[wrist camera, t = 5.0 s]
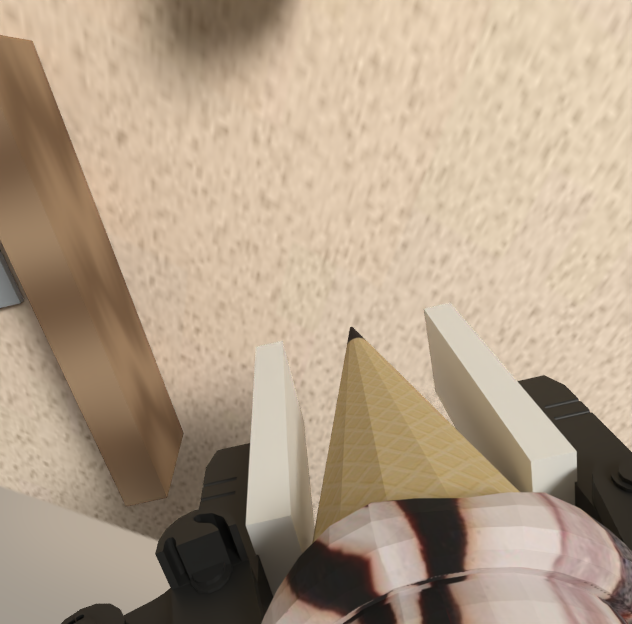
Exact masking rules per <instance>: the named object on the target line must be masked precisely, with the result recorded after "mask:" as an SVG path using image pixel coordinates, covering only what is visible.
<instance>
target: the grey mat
mask: <svg viewBox="0 0 632 624" xmlns="http://www.w3.org/2000/svg"><path fill="white" fill-rule="evenodd" d="M22 301H24V299H23V297H22V295H21V293H20V291H19V288H18V286H17V284H16V282H15V280H14V278H13V276H12V274H11V272H10V270H9V267H8V265H7V263H6V261H5V259H4V257H3V255H2V253H1V251H0V308H2V307H6V306H11V305H15V304H19V303H21V302H22Z"/></svg>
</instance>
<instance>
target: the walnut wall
mask: <svg viewBox="0 0 632 624" xmlns="http://www.w3.org/2000/svg"><path fill="white" fill-rule="evenodd" d="M0 241H1V243H2V245H3V247H4V249H5V251H6V253H7V255H8V257H9V260H10V262H11V264H12V266H13V268H14V270H15V272H16V274H17V277H18V279H19V281H20V283H21V285H22V287H23V289H24V291H25V293H26V296H27V298H28V300H29V302H30V304H31V306H32V308H33V310H34V313H35V315H36V317H37V319H38V321H39V323H40V325H41V327H42V329H43V332H44V334H45V336H46V338H47V340H48V342H49V344H50V346H51V349H52V351H53V353H54V355H55V357H56V359H57V361H58V363H59V365H60V368H61V370H62V372H63V374H64V376H65V378H66V380H67V382H68V385H69V387H70V389H71V391H72V393H73V395H74V397H75V399H76V401H77V404H78V406H79V408H80V410H81V412H82V414H83V416H84V418H85V421H86V423H87V425H88V427H89V429H90V431H91V433H92V435H93V438H94V440H95V442H96V444H97V446H98V448H99V450H100V452H101V454H102V457H103V459H104V461H105V463H106V465H107V467H108V469H109V471H110V474H111V476H112V478H113V480H114V482H115V484H116V486H117V488H118V490H119V493H120V495H121V497H122V499H123V501H124V503H125V505H126V506H131V505H136V504H140V503H145V502H149V501H154V500H158V499H163V498H167V496H168V492H169V488H170V484H171V480H172V476H173V473H174V469H175V465H176V461H177V457H178V453H179V449H180V445H181V441H182V437H183V431H182V429H181V426H180V423H179V421H178V418H177V416H176V413H175V410H174V408H173V405H172V403H171V400H170V397H169V395H168V392H167V390H166V387H165V384H164V382H163V379H162V377H161V374H160V371H159V369H158V366H157V364H156V361H155V358H154V356H153V353H152V351H151V348H150V345H149V343H148V340H147V338H146V335H145V332H144V330H143V327H142V325H141V322H140V319H139V317H138V314H137V312H136V309H135V306H134V304H133V301H132V299H131V296H130V293H129V291H128V288H127V286H126V283H125V280H124V278H123V275H122V273H121V270H120V267H119V265H118V262H117V260H116V257H115V254H114V252H113V249H112V247H111V244H110V241H109V239H108V236H107V234H106V231H105V228H104V226H103V223H102V221H101V218H100V215H99V213H98V210H97V208H96V205H95V202H94V200H93V197H92V195H91V192H90V189H89V187H88V184H87V182H86V179H85V176H84V174H83V171H82V169H81V166H80V163H79V161H78V158H77V156H76V153H75V150H74V148H73V145H72V143H71V140H70V137H69V135H68V132H67V130H66V127H65V124H64V122H63V119H62V117H61V114H60V111H59V109H58V106H57V104H56V101H55V98H54V96H53V93H52V91H51V88H50V85H49V83H48V80H47V78H46V75H45V72H44V70H43V67H42V65H41V62H40V59H39V57H38V54H37V52H36V49H35V46H34V44H33V41H31V40H25V39H19V38H14V37H8V36H3V35H0Z"/></svg>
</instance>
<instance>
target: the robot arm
mask: <svg viewBox="0 0 632 624" xmlns="http://www.w3.org/2000/svg"><path fill="white" fill-rule="evenodd" d="M424 314H425V321H426V328H427V335H428V342H429V349H430V356H431V363H432V370H433V378H434V385H435V391H436V393H437V395H438V397H439V399H440V400H441V402H442V404H443V406H444V408H445V410H446V411H447V413H448V415H449V417H450V419H451V420H452V422H453V424H454V426H455V428H456V429H457V430H458V431H459V432H460V433H461V434H462V435H463V436H464V437H465V438H466V439H467V440H468V441H469V442H470V443H471V444H472V445H473V446H474V447H475V448H476V449H477V450H478V451H479V452H480V453H481V454H482V455H483V456H484V457H485V458H486V459H487V460H488V461H489V462H490V463H491V464H492V465H493V466H494V467H495V468H496V469H497V470H498V471H499V472H500V473H501V474H502V475H503V476H504V477H505V478H506V479H507V480H508V481H509V482H510V483H511V484H512V485H513V486H514V487H515V488H516V489H517V490H518V491H519V492H545V493H547V494H549V495H551V496H554V497H556V498H558V499H560V500H563V501H565V502H567V503H569V504H571V505H574V506H576V507H578V508H580V509H582V510H583V511H584V512H586V513H587V514H588V515H590V516H591V517H592V518H594V519H595V520H596V521H598V522H599V523H601V524H602V525H603V526H605V527H606V528H607V529H609V530H610V531H611V532H612V533H613V534H614V535H616V536H617V537H618V538H619V539H620V540H621V541H622V542H623V543H625V544H626V546H627V547H628V548H629V549H630V550H631V551H632V452H631V451H630V450H629V449H628V448H627V447H626V446H625V445H624V444H623V443H622V442H621V441H620V440H619V439H618V438H617V437H616V436H615V435H614V434H613V433H612V432H611V431H610V430H609V429H608V428H607V427H606V426H605V425H604V424H603V423H602V422H601V421H600V420H599V419H598V418H597V417H596V416H595V415H594V414H593V413H590V411H589V409H588V408H587V407H586V406H585V405H584V404H583V403H582V402H581V401H579V400H578V398H577V397H576V396H575V395H574V394H573V393H572V392H571V391H570V390H569V389H568V388H567V387H566V386H565V385H564V384H561V383H559V382H557V381H555V380H553V379H551V378H549V377H547V376H544V375H543V376H539V377H535V378H530V379H526V380H521V381H517V380H516V379H515V378H514V377H513V376H512V375H511V373H510V372H509V371H508V370H507V369H506V367H505V366H504V365H503V364H502V363H501V362H500V360H499V359H498V358H497V357H496V356H495V355H494V353H493V352H492V351H491V350H490V349H489V347H488V346H487V345H486V344H485V343H484V342H483V340H482V339H481V338H480V337H479V336H478V334H477V333H476V332H475V331H474V330H473V329H472V327H471V326H470V325H469V324H468V323H467V322H466V320H465V319H464V318H463V317H462V316H461V314H460V313H459V312H458V311H457V310H456V309H455V307H454V306H453V305H452V304H451V303H447V304H442V305H438V306H433V307H429V308H425V309H424ZM203 485H204V488H203V489H202V495H201V502H200V506H199V510H195V511H192V512H190V513H188V514H187V515H185V516H183V517H181V518H179V519H178V520H177V521H175V522H174V523H173V524H172V525H171V526H170V527H168V528H167V529H166V531H165V532H164V534H163V535H162V537H161V538H160V540H159V541H158V545H157V550H156V553H155V554H156V556H157V559H158V561H159V563H160V565H161V567H162V570H163V572H164V574H165V576H166V578H167V581H168V583H169V585H170V587H171V588H170V589H169V590H168V591H166V592H165V593H164V594H162V595H161V596H159V597H158V598H156V599H154V600H153V601H151V602H149V603H147V604H145V605H143V606H141V607H139V608H137V609H135V610H134V611H132V612H130V613H128V614H126V615H124V616H123V614H122V612H121V610H120V609H119V608H117V607H115V606H113V605H111V604H94V605H92V606H89V607H86V608H83V609H80V610H79V611H77V612H76V613H74V614H73V615H71V616H70V617H68V618H67V619H65V620H64V621H63V622H62V623H61V624H261V623H262V620H263V618H264V616H265V614H266V612H267V610H268V608H269V606H270V604H271V602H272V600H273V598H274V595H275V593H276V591H277V589H278V588H279V586H280V585H281V583H282V582H283V580H284V579H285V577H286V576H287V574H288V573H289V571H290V570H291V568H292V567H293V565H294V564H295V562H296V561H297V559H298V558H299V557H300V556H301V555H302V553H303V552H304V551H305V550H306V549H307V548H308V547H309V546H310V545H311V544H312V542H313V536H314V531H315V528H314V518H313V508H312V498H311V488H310V478H309V468H308V458H307V448H306V439H305V429H304V420H303V416H302V413H301V409H300V405H299V401H298V398H297V394H296V390H295V386H294V382H293V379H292V375H291V371H290V367H289V364H288V360H287V356H286V352H285V349H284V345H283V341H279V342H275V343H270V344H266V345H262V346H257V347H256V352H255V370H254V388H253V405H252V423H251V440H250V443H249V444H244V445H240V446H235V447H231V448H227V449H222V450H218V451H217V452H216V454H215V455H214V456H213V458H212V459H211V461H210V462H209V464H208V465H207V467H206V471H205V477H204V483H203Z"/></svg>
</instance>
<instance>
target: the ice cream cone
mask: <svg viewBox="0 0 632 624" xmlns="http://www.w3.org/2000/svg"><path fill="white" fill-rule="evenodd" d="M261 624H632V551H631V550H630V549H629V548H628V547H627V546H626V544H625V543H623V542H622V541H621V540H620V539H619V538H618V537H617V536H616V535H614V534H613V533H612V532H611V531H610V530H609V529H607V528H606V527H605V526H603V525H602V524H601V523H599V522H598V521H596V520H595V519H594V518H592V517H591V516H590V515H588V514H587V513H586V512H584V511H583V510H582V509H580V508H578V507H576V506H574V505H571V504H569V503H567V502H565V501H563V500H560V499H558V498H556V497H554V496H551V495H549V494H547V493H545V492H519V491H518V490H517V489H516V488H515V487H514V486H513V485H512V484H511V483H510V482H509V481H508V480H507V479H506V478H505V477H504V476H503V475H502V474H501V473H500V472H499V471H498V470H497V469H496V468H495V467H494V466H493V465H492V464H491V463H490V462H489V461H488V460H487V459H486V458H485V457H484V456H483V455H482V454H481V453H480V452H479V451H478V450H477V449H476V448H475V447H474V446H473V445H472V444H471V443H470V442H469V441H468V440H467V439H466V438H465V437H464V436H463V435H462V434H461V433H460V432H459V431H458V430H457V429H455V428H454V427H453V426H452V425H451V424H450V423H449V422H448V421H447V420H446V419H445V418H444V417H443V416H442V415H441V414H440V413H439V412H438V411H437V410H436V409H435V408H434V407H433V406H432V405H431V404H430V403H429V402H428V401H427V400H426V399H425V398H424V397H423V396H422V395H421V394H420V393H419V392H418V391H417V390H416V389H415V388H414V387H413V386H412V385H411V384H410V383H409V382H408V381H407V380H406V379H405V378H404V377H403V376H402V375H401V374H400V373H399V372H398V371H397V370H396V369H395V368H394V367H393V366H391V365H390V364H389V363H388V362H387V361H386V360H385V359H384V358H383V357H382V356H381V355H380V354H379V353H378V352H377V351H376V350H375V349H374V348H373V347H372V346H371V345H370V344H369V343H368V342H367V341H366V340H365V339H364V338H363V337H362V336H361V335H360V334H359V333H358V332H357V331H356V330H355V329H354V328H353V327H350V331H349V337H348V343H347V348H346V354H345V360H344V365H343V371H342V377H341V383H340V388H339V394H338V400H337V405H336V411H335V417H334V422H333V428H332V434H331V440H330V445H329V451H328V457H327V462H326V468H325V474H324V479H323V485H322V491H321V497H320V502H319V508H318V514H317V519H316V525H315V531H314V536H313V542H312V544H311V545H310V546H309V547H308V548H307V549H306V550H305V551H304V552H303V553H302V555H301V556H300V557H299V558H298V559H297V561H296V562H295V564H294V565H293V567H292V568H291V570H290V571H289V573H288V574H287V576H286V577H285V579H284V580H283V582H282V583H281V585H280V586H279V588H278V589H277V591H276V593H275V595H274V598H273V600H272V602H271V604H270V606H269V608H268V610H267V612H266V614H265V616H264V618H263V620H262V623H261Z"/></svg>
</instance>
